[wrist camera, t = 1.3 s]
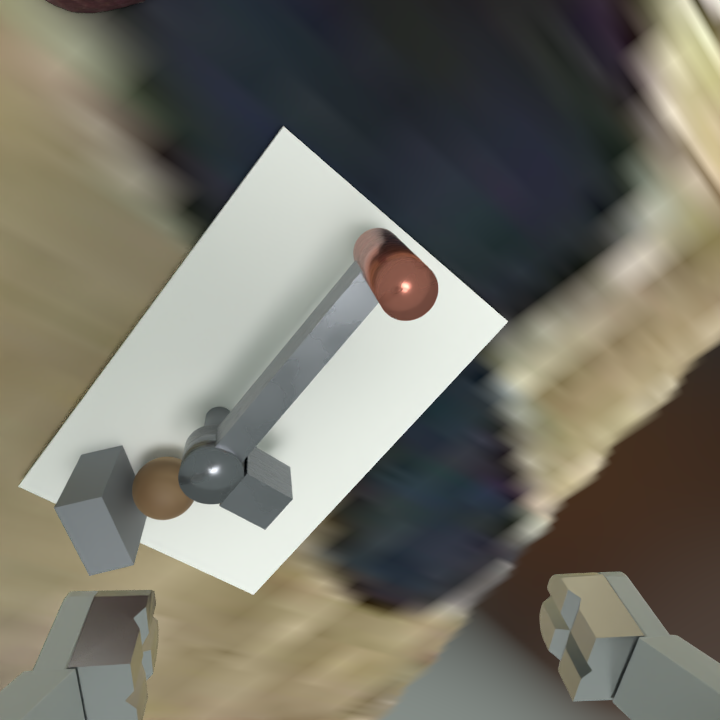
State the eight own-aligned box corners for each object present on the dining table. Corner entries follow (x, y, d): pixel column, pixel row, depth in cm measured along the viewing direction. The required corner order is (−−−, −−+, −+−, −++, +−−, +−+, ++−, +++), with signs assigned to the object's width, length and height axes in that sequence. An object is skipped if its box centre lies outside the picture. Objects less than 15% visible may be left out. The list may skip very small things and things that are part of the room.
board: (253, 584, 50) (252, 655, 44) (24, 476, 42) (-19, 544, 36) (501, 316, 43) (544, 353, 37) (282, 125, 35) (288, 130, 29)
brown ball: (179, 502, 44) (170, 543, 40) (126, 476, 42) (112, 515, 38) (212, 463, 43) (207, 500, 39) (160, 434, 41) (149, 470, 37)
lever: (260, 500, 40) (260, 586, 33) (173, 453, 38) (152, 535, 30) (452, 283, 36) (500, 328, 29) (368, 212, 33) (398, 242, 26)
